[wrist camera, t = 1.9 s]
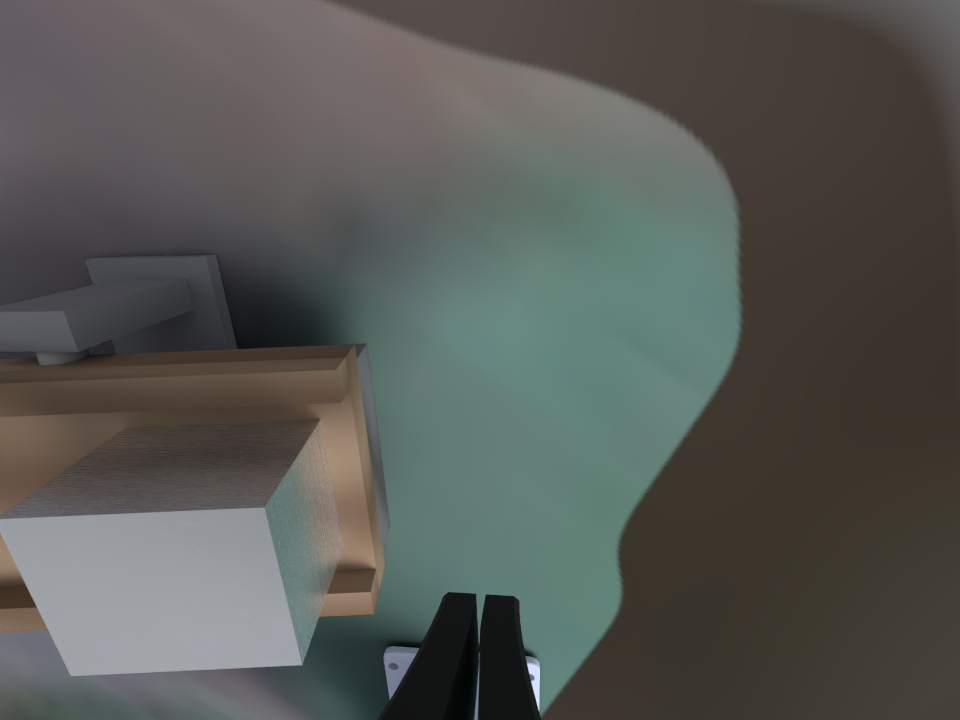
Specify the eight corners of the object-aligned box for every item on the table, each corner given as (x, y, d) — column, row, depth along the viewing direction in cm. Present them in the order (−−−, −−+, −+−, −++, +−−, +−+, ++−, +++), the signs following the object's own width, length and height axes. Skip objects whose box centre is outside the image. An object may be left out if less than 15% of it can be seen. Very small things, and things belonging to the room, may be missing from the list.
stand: (283, 545, 22) (209, 651, 17) (188, 540, 23) (90, 641, 18) (215, 254, 18) (85, 282, 12) (98, 257, 18) (-72, 284, 13)
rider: (343, 547, 16) (302, 665, 12) (169, 555, 16) (70, 676, 12) (321, 419, 14) (265, 507, 10) (125, 427, 14) (-7, 519, 10)
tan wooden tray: (392, 543, 19) (371, 638, 15) (-135, 567, 19) (-300, 670, 15) (363, 318, 16) (327, 364, 12) (-278, 344, 16) (-542, 399, 12)
